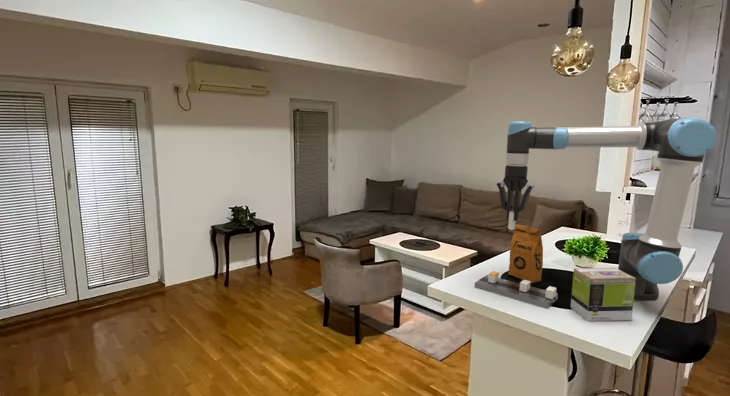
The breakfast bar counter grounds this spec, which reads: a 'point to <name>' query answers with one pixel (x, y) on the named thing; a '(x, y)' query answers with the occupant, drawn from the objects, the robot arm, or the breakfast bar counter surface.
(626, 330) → the breakfast bar counter surface
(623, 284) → the tea box
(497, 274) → the block
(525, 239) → the coffee package
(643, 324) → the breakfast bar counter surface
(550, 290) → the block
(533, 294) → the panel
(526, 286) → the block
